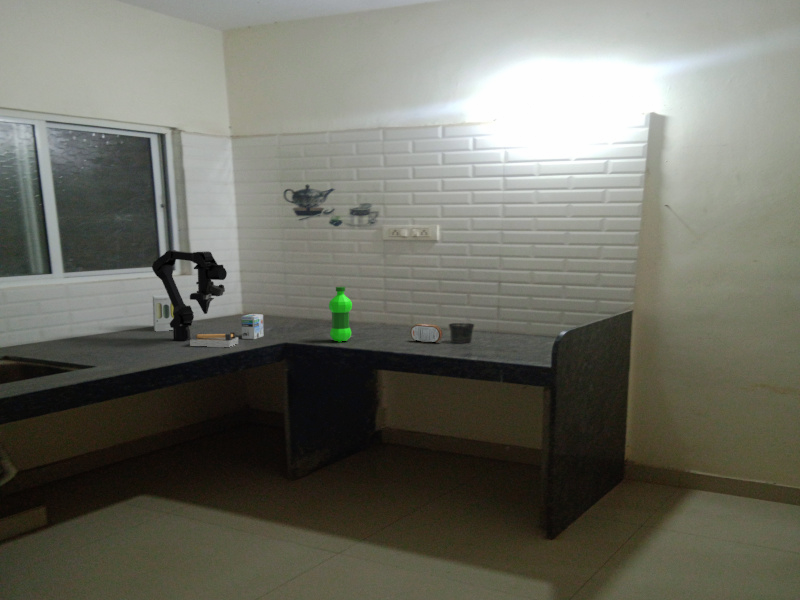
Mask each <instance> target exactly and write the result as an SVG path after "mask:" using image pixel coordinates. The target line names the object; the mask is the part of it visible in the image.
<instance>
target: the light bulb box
mask: <svg viewBox="0 0 800 600" xmlns="http://www.w3.org/2000/svg"><path fill="white" fill-rule="evenodd" d="M262 337H264V314H260V313H250V314H246V315H242V316H241V339H243V340H256V339H259V338H262Z"/></svg>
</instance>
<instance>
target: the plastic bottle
mask: <svg viewBox="0 0 800 600" xmlns="http://www.w3.org/2000/svg"><path fill="white" fill-rule="evenodd" d="M335 292H336V295H335V296H334V297H333V298H332V299H331V300H330V301H329V303H328V307H329V311H330V312H331V329H330V331H329V336H330V338H331V339H332V340H334V342H335V341H338V342H337V343H342V342H341V341H346V342H347V341H348V340H349V339H350V338H351V337H352V329H351V327H350V311H352V309H353V302H352V300H351V299H350V298H349V297H348V296H346V294H345V292H346V286H335Z"/></svg>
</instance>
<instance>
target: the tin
mask: <svg viewBox="0 0 800 600" xmlns="http://www.w3.org/2000/svg"><path fill="white" fill-rule="evenodd" d="M409 334H410V337H411V339H412V340H413V341H414V340H419V341H432V342H436V343H438V341H439V342H440V341H441V340H442V338H443V330H442V329H441V327H440V326H439V325H436V324H430V323H416V324H415V325H413V326H412V327H411V329H410V333H409Z"/></svg>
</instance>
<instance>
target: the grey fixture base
mask: <svg viewBox="0 0 800 600" xmlns="http://www.w3.org/2000/svg"><path fill="white" fill-rule="evenodd" d="M198 334H203V332H201V331H200V332H199V331H198V332H197V333H196V334H195V333H193V334H192V335H191V339H189V346H207V347H206V348H224V347H230V346H232V347H234V346H236V345H235V344H237V345H239V336H236V332H234V331H230V332H229V333H224V334H225V338H197V335H198ZM231 334H233V337H231ZM233 345H234V346H233ZM230 348H231V347H230Z"/></svg>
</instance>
